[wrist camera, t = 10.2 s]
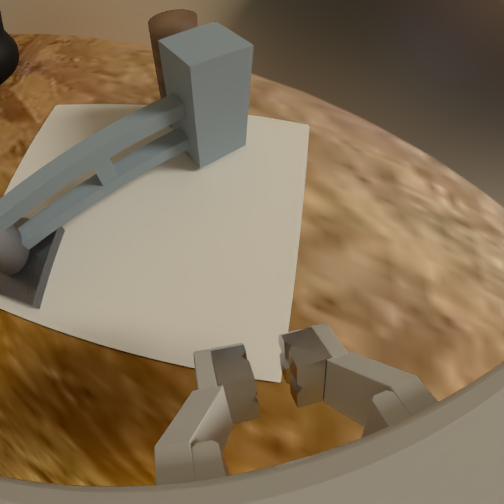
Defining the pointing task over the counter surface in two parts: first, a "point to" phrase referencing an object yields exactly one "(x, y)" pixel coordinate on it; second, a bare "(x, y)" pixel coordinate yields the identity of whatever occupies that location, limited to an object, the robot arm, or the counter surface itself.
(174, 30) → the post
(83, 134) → the mat
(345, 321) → the counter surface
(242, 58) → the gate
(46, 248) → the hinge foot
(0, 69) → the cola bottle
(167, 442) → the robot arm
